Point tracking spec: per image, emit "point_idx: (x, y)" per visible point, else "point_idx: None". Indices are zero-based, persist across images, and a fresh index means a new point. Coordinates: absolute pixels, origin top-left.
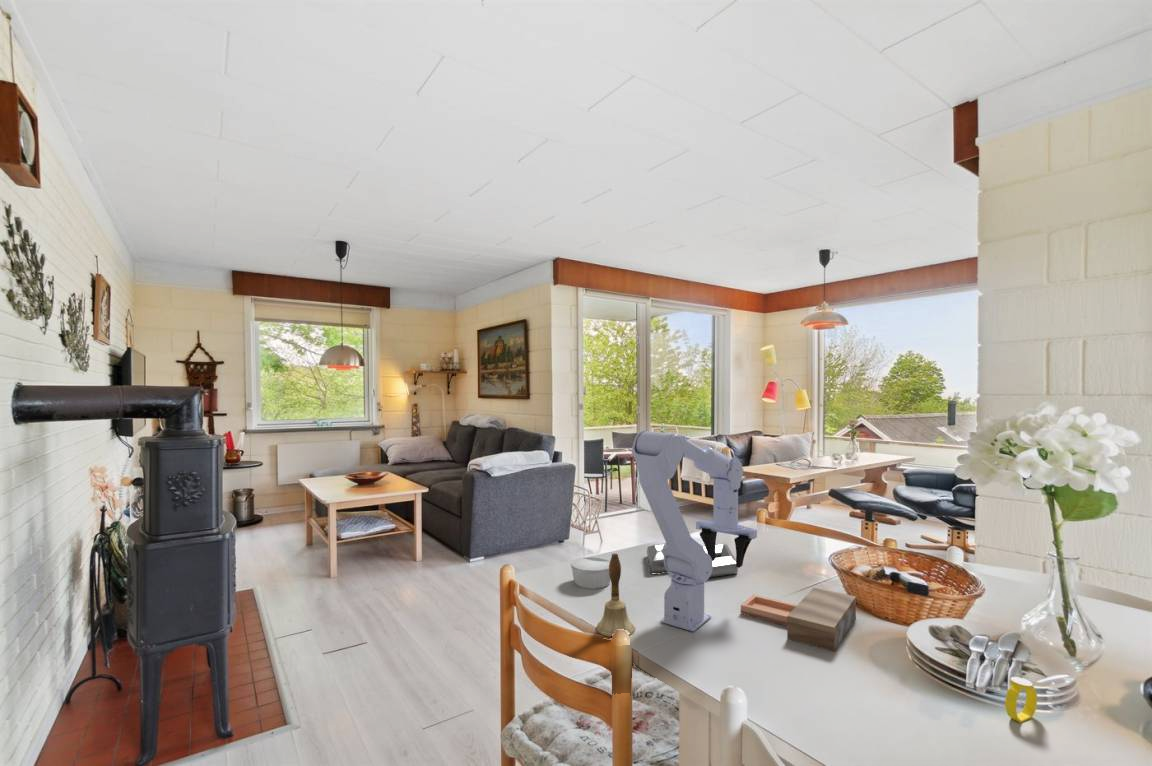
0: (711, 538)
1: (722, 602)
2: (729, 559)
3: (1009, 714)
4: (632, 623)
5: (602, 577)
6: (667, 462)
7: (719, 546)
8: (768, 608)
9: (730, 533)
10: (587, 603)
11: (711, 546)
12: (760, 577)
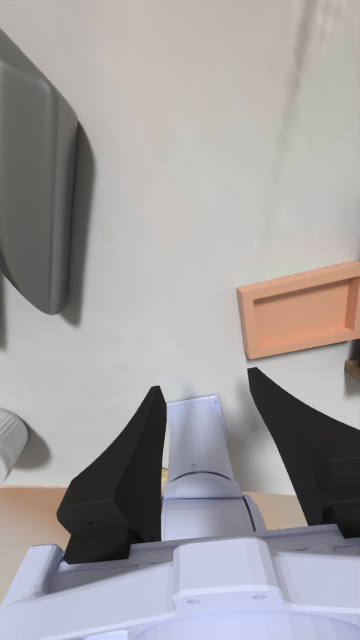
0: (151, 497)
1: (191, 334)
2: (20, 100)
3: None
4: (165, 474)
5: (17, 450)
6: None
7: None
8: (285, 307)
9: (269, 544)
10: (74, 466)
11: (157, 453)
12: (141, 65)
